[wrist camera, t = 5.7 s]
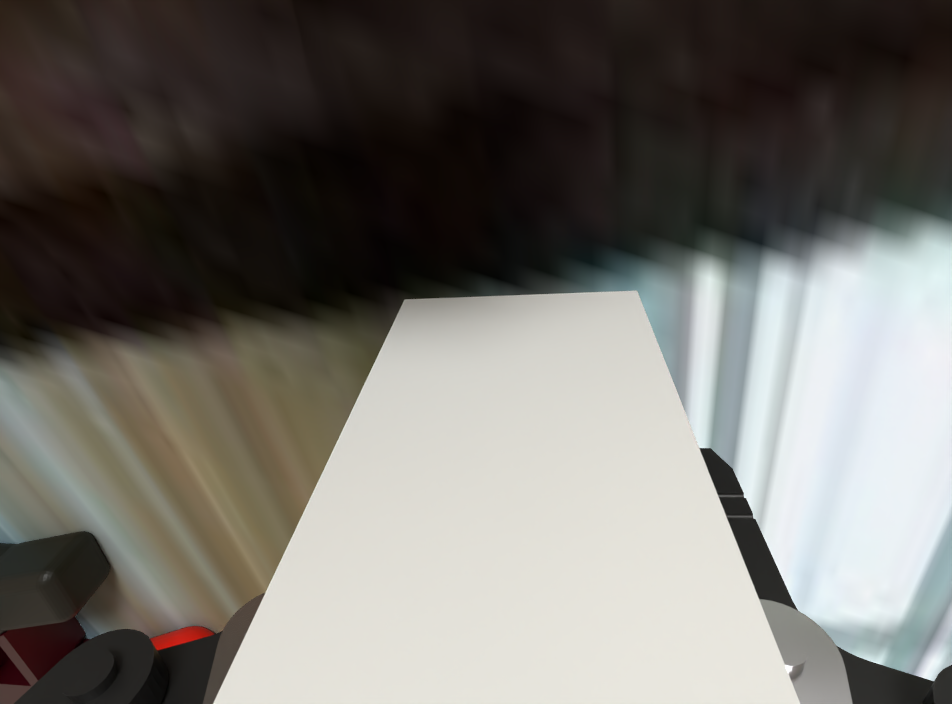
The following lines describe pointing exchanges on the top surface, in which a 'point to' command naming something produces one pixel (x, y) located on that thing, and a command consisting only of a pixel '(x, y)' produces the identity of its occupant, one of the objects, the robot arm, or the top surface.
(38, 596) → the toy gun
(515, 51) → the top surface
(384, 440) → the block
